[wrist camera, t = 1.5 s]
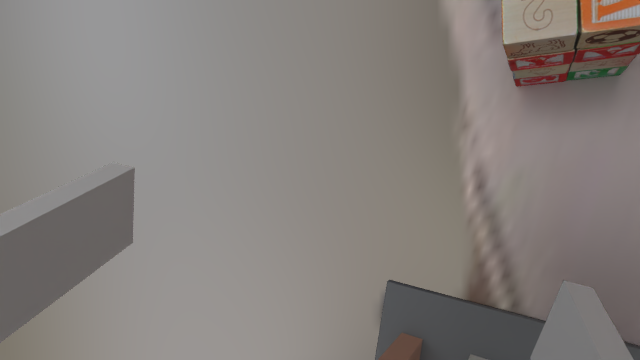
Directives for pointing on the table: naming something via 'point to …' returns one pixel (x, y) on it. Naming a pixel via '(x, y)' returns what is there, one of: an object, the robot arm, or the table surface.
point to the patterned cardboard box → (569, 38)
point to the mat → (458, 326)
